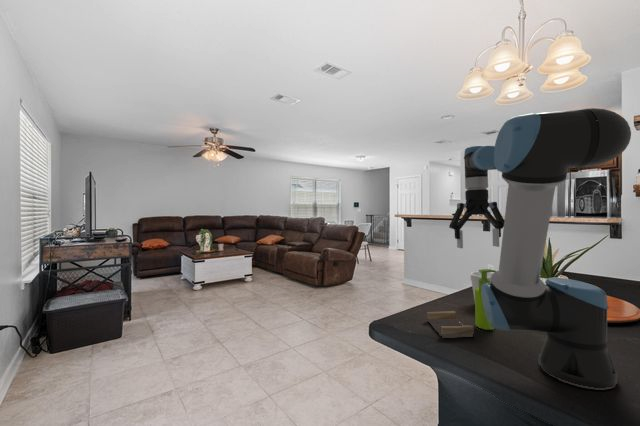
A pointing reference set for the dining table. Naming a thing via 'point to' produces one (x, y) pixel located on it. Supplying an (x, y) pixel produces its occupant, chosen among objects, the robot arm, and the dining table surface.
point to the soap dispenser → (481, 302)
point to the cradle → (450, 329)
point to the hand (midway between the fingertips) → (478, 247)
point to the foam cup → (475, 280)
